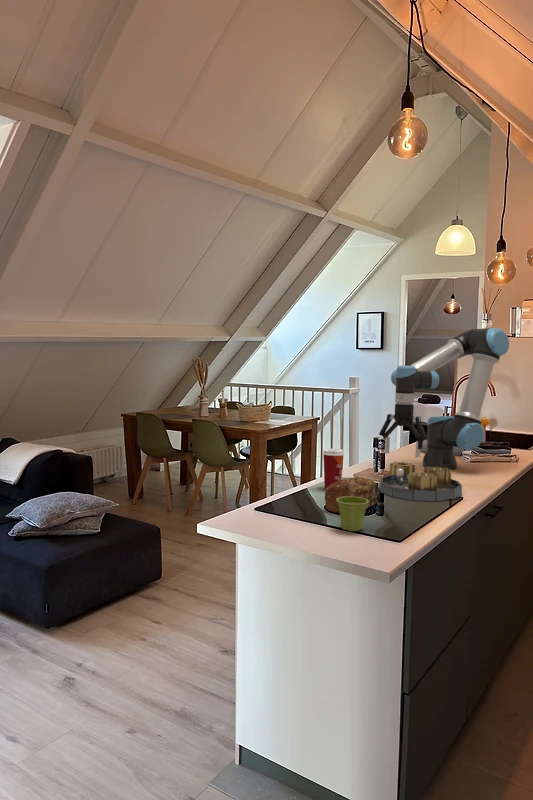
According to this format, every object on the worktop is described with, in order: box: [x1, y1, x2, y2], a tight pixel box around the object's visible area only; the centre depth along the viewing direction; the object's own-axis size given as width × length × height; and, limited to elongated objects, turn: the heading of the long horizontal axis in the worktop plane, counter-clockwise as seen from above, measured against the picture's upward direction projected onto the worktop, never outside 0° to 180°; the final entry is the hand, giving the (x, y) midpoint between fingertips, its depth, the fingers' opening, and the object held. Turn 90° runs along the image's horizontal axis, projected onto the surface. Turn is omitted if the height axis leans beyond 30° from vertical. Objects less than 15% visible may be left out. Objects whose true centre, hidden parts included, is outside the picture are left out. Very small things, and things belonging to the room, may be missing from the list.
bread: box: [324, 476, 378, 514], centre depth 205 cm, size 19×11×10 cm, turn 142°
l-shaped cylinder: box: [420, 440, 465, 457], centre depth 312 cm, size 18×10×20 cm
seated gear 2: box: [423, 466, 452, 487], centre depth 233 cm, size 10×10×6 cm
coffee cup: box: [322, 448, 345, 490], centre depth 232 cm, size 8×8×15 cm
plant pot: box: [336, 497, 369, 532], centre depth 181 cm, size 9×9×9 cm
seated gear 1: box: [408, 471, 437, 491], centre depth 222 cm, size 10×10×6 cm
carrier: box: [378, 468, 463, 502], centre depth 230 cm, size 29×29×8 cm
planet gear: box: [389, 461, 416, 475], centre depth 252 cm, size 10×10×6 cm
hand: (401, 455), depth 252 cm, fingers open, 13 cm apart
